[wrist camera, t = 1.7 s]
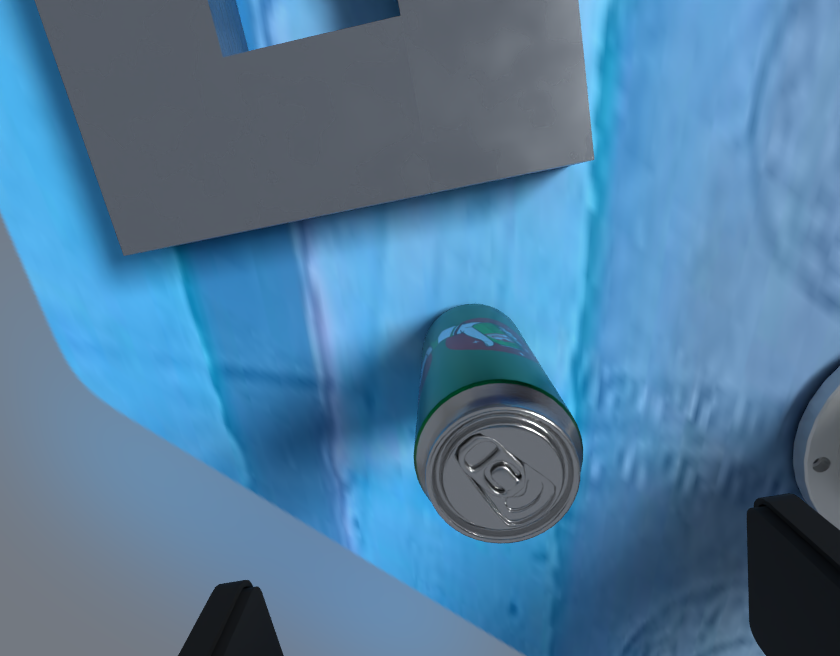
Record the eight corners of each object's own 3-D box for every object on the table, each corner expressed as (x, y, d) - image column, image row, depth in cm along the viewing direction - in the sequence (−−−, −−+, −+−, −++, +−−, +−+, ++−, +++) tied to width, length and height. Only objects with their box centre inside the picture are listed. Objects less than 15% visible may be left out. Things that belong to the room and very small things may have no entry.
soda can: (469, 412, 26) (496, 585, 14) (402, 347, 25) (374, 475, 14) (541, 350, 25) (633, 482, 13) (474, 280, 24) (510, 356, 13)
